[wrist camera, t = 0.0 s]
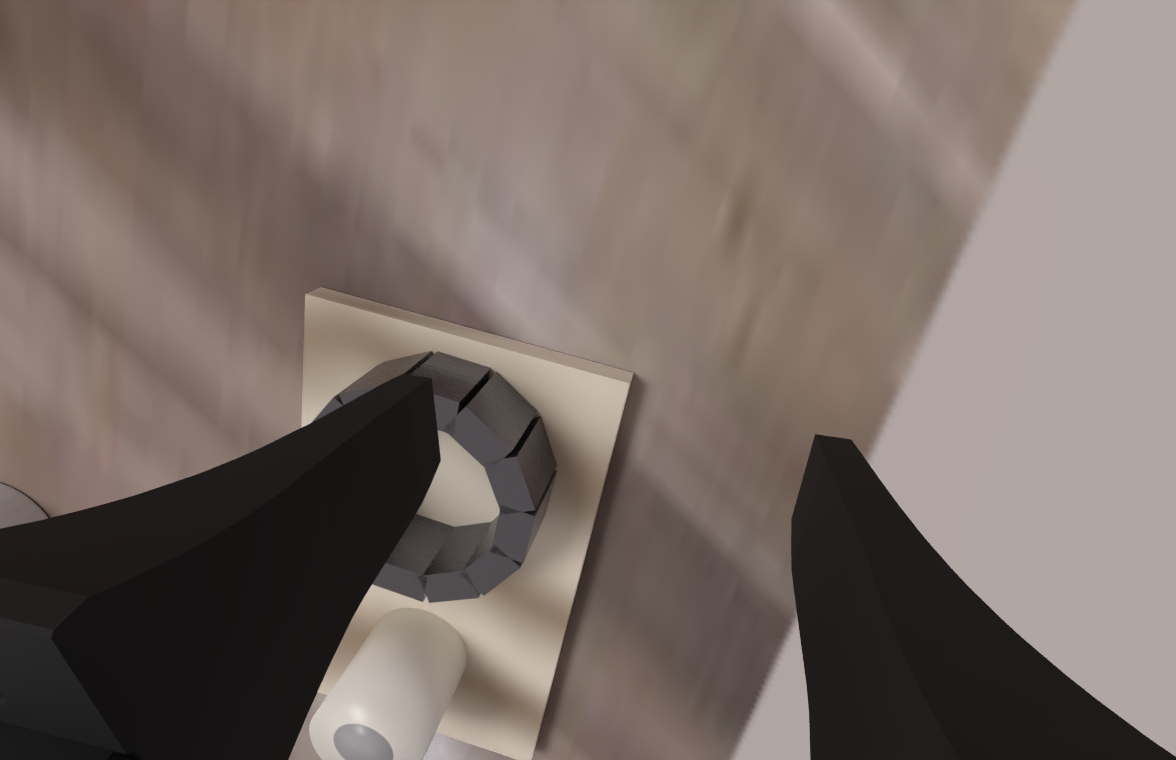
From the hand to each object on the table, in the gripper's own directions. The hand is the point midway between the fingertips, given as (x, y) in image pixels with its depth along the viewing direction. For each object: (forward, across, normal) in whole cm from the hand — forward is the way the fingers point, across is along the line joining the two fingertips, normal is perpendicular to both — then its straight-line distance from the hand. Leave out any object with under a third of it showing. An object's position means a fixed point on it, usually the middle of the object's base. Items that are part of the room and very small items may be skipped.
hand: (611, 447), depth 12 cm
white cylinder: (+7, +9, +18) cm, 21 cm away
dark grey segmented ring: (+8, +7, +8) cm, 14 cm away
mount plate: (+8, +8, +13) cm, 18 cm away
